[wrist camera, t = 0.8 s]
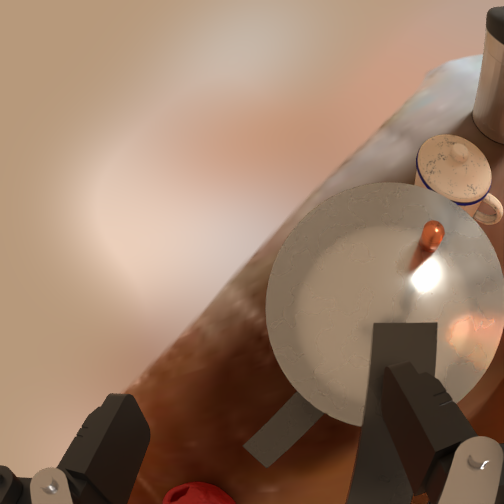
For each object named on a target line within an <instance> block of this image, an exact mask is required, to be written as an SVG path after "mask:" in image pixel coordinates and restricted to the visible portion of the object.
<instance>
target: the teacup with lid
mask: <svg viewBox="0 0 504 504" xmlns="http://www.w3.org/2000/svg"><path fill="white" fill-rule="evenodd" d="M416 167H417V172H416V178H415V184H414V185H416V186H419V187H423V188H426V189H429V190H432V191H434V192H436V193H438V194H441V195H443V196H444V197H446V198H448V199H449V200H451V201H453V202H454V203H456V204H457V205H458V206H460V207H461V208H462V209H463V210H465V211H466V212H467V213H468V214H469V215H470V216H471V217H472V218H473V219H475V220H477V221H478V222H480V223H483V224H486V225H492V224H496V223H497V222H499V221H500V220H501V218H502V215H503V207H502V205H501V203H500V202H499V201H498V200H497V199H496V198H495V197H494V196H493V195H491V194H489V193H488V192H489V190H490V187H491V170H490V166H489V163H488V161H487V159H486V157H485V156H484V154H483V153H482V152H481V151H480V150H479V149H478V148H477V147H476V146H475V145H474V144H472V143H471V142H470V141H468V140H466V139H464V138H462V137H459V136H455V135H448V134H444V135H437V136H434V137H432V138H430V139H428V140H427V141H426V142H425V143H424V144H423V145H422V146H421V148H420V149H419V151H418V154H417V158H416ZM481 201H484V202H485V203H487V204H488V205H490V206H491V207H492V208H493V209H494V210H495V212H496V214H494V215H486V214H483V213H481V212H480V211H478V210H477V208H478V207H479V205H480V203H481Z"/></svg>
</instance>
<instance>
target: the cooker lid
mask: <svg viewBox="0 0 504 504" xmlns="http://www.w3.org/2000/svg"><path fill="white" fill-rule="evenodd" d="M266 323H267V329H268V334H269V339H270V343H271V346H272V349H273V352H274V355H275V357H276V359H277V361H278V363H279V365H280V367H281V369H282V371H283V373H284V374H285V376H286V377H287V378H288V380H289V381H290V383H291V384H292V386H293V387H294V388H295V389H296V390H297V391H298V392H299V393H300V394H301V395H302V396H303V397H304V398H305V399H306V400H307V401H308V402H310V403H311V404H312V405H313V406H315V407H316V408H317V409H319V410H321V411H322V412H324V413H326V414H327V415H329V416H331V417H333V418H335V419H338V420H340V421H343V422H345V423H348V424H352V425H356V426H360V427H361V432H360V437H359V443H358V449H357V454H356V459H355V464H354V469H353V473H352V478H351V482H350V487H349V491H348V495H347V499H346V503H345V504H410V503H411V499H412V496H413V491H412V488H411V485H410V483H409V480H408V478H407V475H406V472H405V470H404V467H403V465H402V462H401V460H400V457H399V455H398V452H397V450H396V448H395V445H394V443H393V440H392V438H391V435H390V433H389V431H388V428H387V426H386V424H385V421H384V419H383V415H382V410H381V397H382V388H383V377H384V369H385V367H386V366H390V365H394V364H398V363H401V362H405V361H410V362H411V364H412V365H413V366H414V368H415V369H416V371H417V372H418V374H421V373H424V372H427V373H429V374H430V375H432V376H434V377H435V378H437V379H439V381H440V382H441V383H442V385H443V386H444V388H445V389H446V392H447V393H449V394H450V396H451V397H452V399H453V402H455V403H457V402H459V401H460V400H461V399H462V398H463V397H464V396H465V395H466V394H467V393H468V392H469V391H470V390H471V389H472V388H473V387H474V386H475V385H476V384H477V382H478V381H479V380H480V378H481V377H482V376H483V375H484V373H485V371H486V370H487V368H488V366H489V365H490V363H491V361H492V359H493V357H494V355H495V352H496V350H497V347H498V345H499V342H500V338H501V335H502V331H503V327H504V278H503V274H502V270H501V266H500V263H499V260H498V258H497V255H496V253H495V250H494V248H493V246H492V244H491V243H490V241H489V239H488V238H487V236H486V234H485V233H484V231H483V230H482V229H481V227H480V226H479V225H478V224H477V222H476V221H475V220H474V219H473V218H472V217H471V216H470V215H469V214H468V213H467V212H466V211H465V210H463V209H462V208H461V207H460V206H458V205H457V204H456V203H454V202H453V201H451V200H449V199H448V198H446V197H444V196H443V195H441V194H438V193H436V192H434V191H432V190H429V189H426V188H423V187H419V186H416V185H411V184H405V183H392V182H384V183H372V184H367V185H362V186H358V187H355V188H352V189H349V190H346V191H343V192H341V193H339V194H337V195H335V196H332V197H331V198H329V199H327V200H326V201H324V202H323V203H321V204H319V205H318V206H317V207H316V208H314V209H313V210H312V211H311V212H309V213H308V214H307V215H306V216H305V217H304V218H303V219H302V220H301V221H300V222H299V223H298V224H297V225H296V227H295V228H294V229H293V230H292V232H291V233H290V234H289V236H288V237H287V239H286V240H285V242H284V244H283V245H282V247H281V249H280V251H279V253H278V255H277V257H276V260H275V262H274V264H273V268H272V271H271V274H270V277H269V282H268V288H267V293H266Z"/></svg>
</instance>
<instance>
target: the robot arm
mask: <svg viewBox="0 0 504 504" xmlns="http://www.w3.org/2000/svg"><path fill="white" fill-rule="evenodd" d="M472 116H473V120H474V122H475V124H476V126H477V127H478V128H479V130H480V131H481V132H482V133H483V134H485V135H486V136H487V137H489V138H490V139H492V140H494V141H496V142H498V143H501V144H504V6H503V7H494V8H491V9H490V10H489V11H488V13H487V18H486V34H485V43H484V52H483V60H482V66H481V73H480V78H479V84H478V89H477V94H476V99H475V104H474V108H473V114H472ZM381 410H382V415H383V419H384V421H385V424H386V426H387V428H388V431H389V433H390V435H391V438H392V440H393V443H394V445H395V448H396V450H397V452H398V455H399V457H400V460H401V462H402V465H403V467H404V470H405V472H406V475H407V478H408V480H409V483H410V485H411V488H412V491H413V493H414V496H417V495H420V494H422V493H425V492H426V493H427V495H428V498H429V501H428V503H427V504H504V443H502V444H498V442H496V441H495V440H493V439H491V438H489V437H484V436H478V435H477V434H476V432H475V431H474V429H473V428H472V426H471V425H470V423H469V422H468V420H467V419H466V417H465V416H464V415H463V413H462V412H461V410H460V409H459V407H458V406H457V404H456V403H455V402H453V399H452V397H451V396H450V394H449V393H447V392H446V389H445V388H444V386H443V385H442V383H441V382H440V381H439V379H437V378H435V377H434V376H432V375H430V374H429V373H427V372H424V373H421V374H418V372H417V371H416V369H415V368H414V366H413V365H412V364H411V362H410V361H405V362H401V363H398V364H394V365H390V366H386V367H385V369H384V377H383V388H382V397H381ZM149 442H150V428H149V425H148V423H147V421H146V419H145V418H144V416H143V414H142V412H141V410H140V408H139V406H138V404H137V402H136V400H135V398H134V397H133V396H132V395H131V394H113V393H112V394H109V395H108V396H107V397H106V399H105V401H104V402H103V404H102V406H101V407H98V408H97V409H96V410H94V411H93V412H92V413H91V414H89V415H88V417H87V418H86V420H85V421H84V423H83V425H82V428H80V430H79V431H78V433H77V437H75V438H74V439H73V441H72V443H71V444H70V446H69V448H68V449H67V451H66V453H65V454H64V456H63V458H62V460H61V461H60V463H59V465H58V466H57V468H45V469H42V470H40V471H39V472H38V473H36V474H35V476H34V477H33V478H20V477H16V476H15V474H14V473H13V472H12V471H11V470H10V469H9V468H8V467H6V466H0V504H127V502H128V499H129V497H130V494H131V491H132V488H133V485H134V483H135V480H136V477H137V474H138V472H139V469H140V466H141V463H142V461H143V458H144V455H145V453H146V450H147V447H148V445H149Z"/></svg>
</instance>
